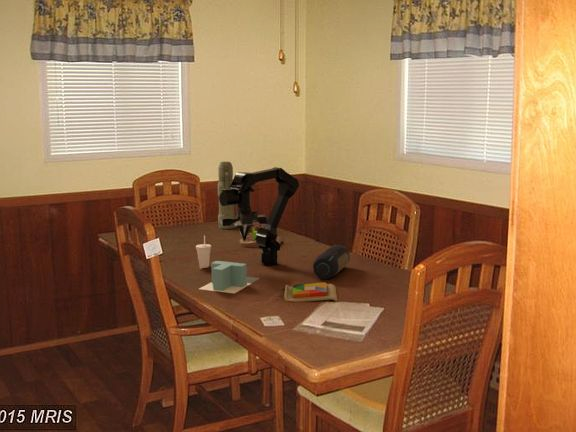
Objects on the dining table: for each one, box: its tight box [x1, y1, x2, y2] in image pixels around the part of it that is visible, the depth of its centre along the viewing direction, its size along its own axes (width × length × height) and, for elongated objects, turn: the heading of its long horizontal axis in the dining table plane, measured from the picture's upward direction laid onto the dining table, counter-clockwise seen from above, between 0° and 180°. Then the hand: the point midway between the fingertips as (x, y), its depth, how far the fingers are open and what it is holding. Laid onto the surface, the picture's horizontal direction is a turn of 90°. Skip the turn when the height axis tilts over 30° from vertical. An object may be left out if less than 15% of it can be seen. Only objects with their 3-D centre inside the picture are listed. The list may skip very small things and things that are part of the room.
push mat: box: [198, 276, 261, 294], centre depth 275 cm, size 22×15×1 cm
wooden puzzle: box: [283, 282, 338, 303], centre depth 263 cm, size 18×19×4 cm
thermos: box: [217, 161, 236, 230], centre depth 381 cm, size 9×12×35 cm
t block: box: [210, 260, 248, 291], centre depth 271 cm, size 11×13×8 cm
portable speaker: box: [312, 244, 351, 280], centre depth 291 cm, size 25×10×10 cm, turn 160°
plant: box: [238, 222, 282, 249], centre depth 346 cm, size 20×20×11 cm
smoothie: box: [195, 235, 212, 270], centre depth 300 cm, size 6×6×14 cm
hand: (244, 240), depth 297 cm, fingers closed
